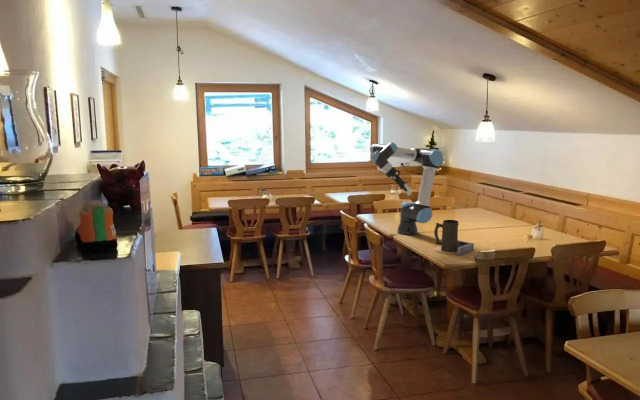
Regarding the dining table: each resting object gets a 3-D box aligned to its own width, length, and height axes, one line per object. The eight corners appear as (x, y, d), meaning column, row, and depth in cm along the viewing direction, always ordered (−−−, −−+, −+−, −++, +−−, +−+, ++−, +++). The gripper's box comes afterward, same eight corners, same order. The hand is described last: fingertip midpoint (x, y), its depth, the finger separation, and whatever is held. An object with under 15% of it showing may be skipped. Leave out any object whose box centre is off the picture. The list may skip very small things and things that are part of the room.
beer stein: (456, 247, 339) (455, 218, 335) (460, 252, 328) (460, 222, 325) (433, 249, 339) (432, 220, 335) (437, 253, 328) (436, 223, 325)
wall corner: (445, 244, 349) (445, 237, 348) (473, 250, 334) (473, 243, 333) (431, 249, 336) (431, 242, 335) (459, 256, 321) (460, 248, 321)
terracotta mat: (441, 246, 345) (441, 245, 345) (462, 250, 334) (462, 250, 334) (428, 250, 334) (428, 249, 333) (450, 255, 323) (450, 254, 323)
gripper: (386, 171, 357) (406, 193, 357) (383, 176, 333) (405, 199, 332) (393, 164, 355) (414, 186, 355) (392, 168, 331) (414, 191, 331)
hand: (410, 193), depth 344 cm, fingers open, 13 cm apart
